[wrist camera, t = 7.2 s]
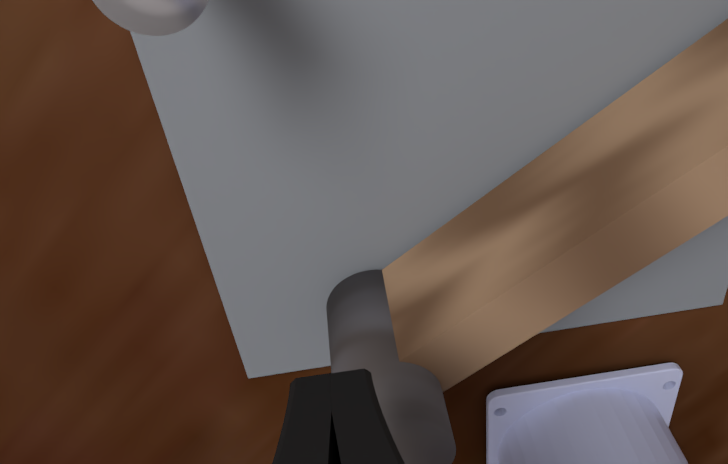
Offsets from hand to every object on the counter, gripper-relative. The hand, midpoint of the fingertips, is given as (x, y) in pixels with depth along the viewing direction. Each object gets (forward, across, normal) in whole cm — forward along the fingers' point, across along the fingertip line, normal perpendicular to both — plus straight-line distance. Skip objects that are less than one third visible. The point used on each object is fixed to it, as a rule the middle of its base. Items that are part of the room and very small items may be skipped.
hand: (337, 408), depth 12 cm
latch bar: (+9, -7, +2) cm, 11 cm away
